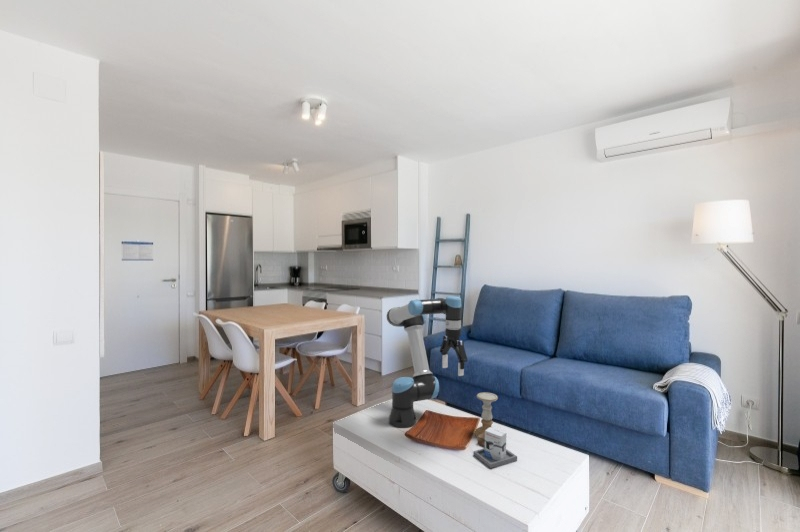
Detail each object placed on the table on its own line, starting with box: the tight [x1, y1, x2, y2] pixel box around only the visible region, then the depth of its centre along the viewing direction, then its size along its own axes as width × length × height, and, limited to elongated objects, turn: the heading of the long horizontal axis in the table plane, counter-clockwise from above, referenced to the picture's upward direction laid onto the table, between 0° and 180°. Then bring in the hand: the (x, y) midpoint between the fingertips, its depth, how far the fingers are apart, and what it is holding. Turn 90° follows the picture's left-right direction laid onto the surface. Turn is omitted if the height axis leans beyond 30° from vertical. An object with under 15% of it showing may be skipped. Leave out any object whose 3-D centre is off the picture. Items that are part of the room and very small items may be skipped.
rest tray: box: [472, 447, 518, 470], centre depth 168 cm, size 12×15×2 cm
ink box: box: [484, 426, 507, 461], centre depth 168 cm, size 8×5×12 cm, turn 47°
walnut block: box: [477, 433, 485, 448], centre depth 180 cm, size 5×5×4 cm
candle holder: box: [474, 392, 499, 438], centre depth 190 cm, size 12×12×20 cm
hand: (452, 371), depth 182 cm, fingers open, 13 cm apart
